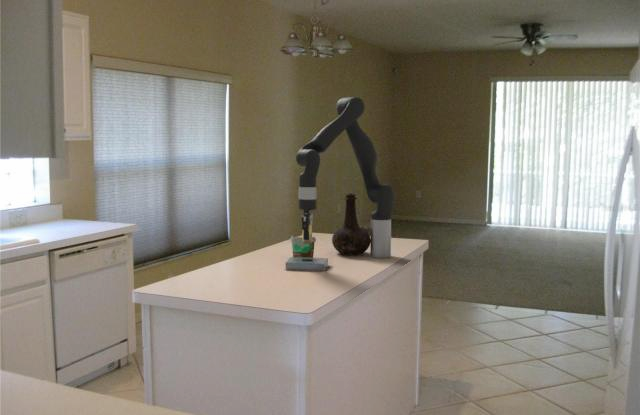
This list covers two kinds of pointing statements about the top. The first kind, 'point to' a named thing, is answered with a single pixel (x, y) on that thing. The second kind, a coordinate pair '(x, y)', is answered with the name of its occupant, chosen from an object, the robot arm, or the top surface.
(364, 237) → the glass bottle
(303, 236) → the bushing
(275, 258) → the top surface
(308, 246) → the food container
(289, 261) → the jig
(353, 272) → the top surface
